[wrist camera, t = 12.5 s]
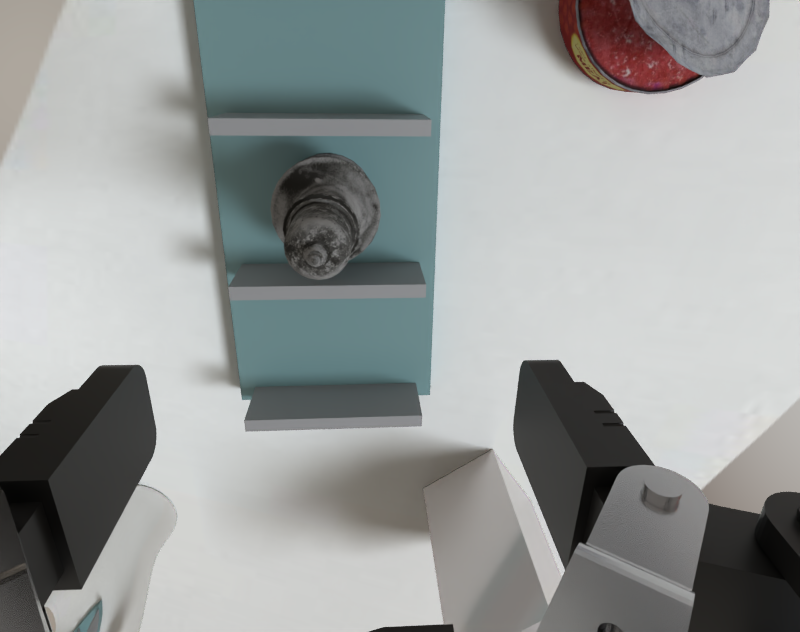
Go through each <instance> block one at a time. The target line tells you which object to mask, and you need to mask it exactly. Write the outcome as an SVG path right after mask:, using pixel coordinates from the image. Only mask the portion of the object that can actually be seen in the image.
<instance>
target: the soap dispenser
mask: <svg viewBox="0 0 800 632" xmlns="http://www.w3.org/2000/svg"><path fill="white" fill-rule="evenodd" d="M423 491H424V498H425V504H426V511H427V517H428V524H429V531H430V537H431V544H432V550H433V557H434V563H435V570H436V576H437V583H438V589H439V596H440V602H441V609H442V615H443V622H444V625H445V624H453V627H454V632H536V631H537V629H538V627H539V625H540V623H541V621H542V618H543V616H544V614H545V612H546V610H547V608H548V606H549V604H550V602H551V600H552V597H553V595H554V593H555V591H556V589H557V587H558V585H559V583H560V581H561V578H562V576H561V573H560V571H559V568H558V566H557V564H556V561H555V559H554V556H553V554H552V551H551V549H550V546H549V544H548V541H547V539H546V536H545V534H544V531H543V529H542V526H541V524H540V521H539V519H538V516H537V514H536V511H535V509H534V506H533V504H532V501H531V500H530V498H529V497H528V496H527V494H526V493H525V492H524V490H523V489H522V488H521V486H520V485H519V484H518V482H517V481H516V480H515V478H514V477H513V476H512V474H511V473H510V472H509V470H508V469H507V467H506V466H505V465H504V463H503V462H502V461H501V459H500V458H499V457H498V455H497V454H496V453H495V451H494V450H493V449H492V450H490V451H488V452H487V453H485V454H483V455H481V456H480V457H478V458H476V459H474V460H473V461H471V462H469V463H467V464H466V465H464V466H462V467H460V468H459V469H457V470H455V471H453V472H451V473H450V474H448V475H446V476H444V477H443V478H441V479H439V480H437V481H436V482H434V483H432V484H430V485H429V486H427V487H425V488H423Z"/></svg>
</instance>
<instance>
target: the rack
mask: <svg viewBox="0 0 800 632" xmlns="http://www.w3.org/2000/svg"><path fill="white" fill-rule="evenodd" d="M194 8H195V16H196V25H197V33H198V41H199V49H200V58H201V66H202V74H203V82H204V90H205V99H206V107H207V115H208V126H209V134H210V140H211V148H212V156H213V165H214V173H215V181H216V189H217V197H218V206H219V214H220V222H221V230H222V239H223V247H224V255H225V263H226V271H227V280H228V290H229V298H230V304H231V313H232V321H233V329H234V337H235V345H236V354H237V362H238V370H239V378H240V387H241V395H242V400H251V402H250V405H249V408H248V411H247V414H246V417H245V420H244V422H245V430H246V431H277V430H310V429H343V428H376V427H409V426H422V413H421V408H420V402H419V397H418V395H430V376H431V350H432V325H433V299H434V273H435V247H436V221H437V195H438V169H439V143H440V118H441V92H442V66H443V40H444V14H445V0H194ZM323 153H333V154H338V155H342V156H344V157H346V158H348V159H350V160H352V161H354V162H355V163H356V164H357V165H358V166H360V167H361V168H362V169H363V171H364V172H365V174H366V175H367V177H368V178H369V180H370V181H371V183H372V184H373V185H374V187H375V189H376V192H377V195H378V198H379V201H380V213H381V217H380V222H379V227H378V231H377V233H376V235H375V237H374V239H373V241H372V242H371V243H370V244H369V246H368V247H367V248H366V249H365V250H364V251H363V252H362V253H360V254H359V255H357V256H356V257H354V258H353V259H351V260H349V261H348V263H347V265H346V266H345V267H344V268H343V269H342V271H341V272H340V273H338V274H337V275H335V276H333V277H331V278H328V279H322V280H315V279H309V278H306V277H304V276H302V275H300V274H299V273H297V272H296V271H295V270H294V269H293V268H292V267H291V266H290V264H289V263H288V260H287V258H286V256H285V251H284V243H283V242H282V241H281V239H280V238H279V237H278V235H277V233H276V230H275V228H274V226H273V223H272V217H271V210H270V209H271V200H272V194H273V192H274V189H275V187H276V184H277V182H278V181H279V179H280V178H281V177H282V176H283V174H284V173H285V172H286V171H287V170H288V169H289V168H291V167H292V166H294V165H295V164H296V163H298V162H300V161H303V160H305V159H306V158H308V157H311V156H314V155H316V154H323Z"/></svg>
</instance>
